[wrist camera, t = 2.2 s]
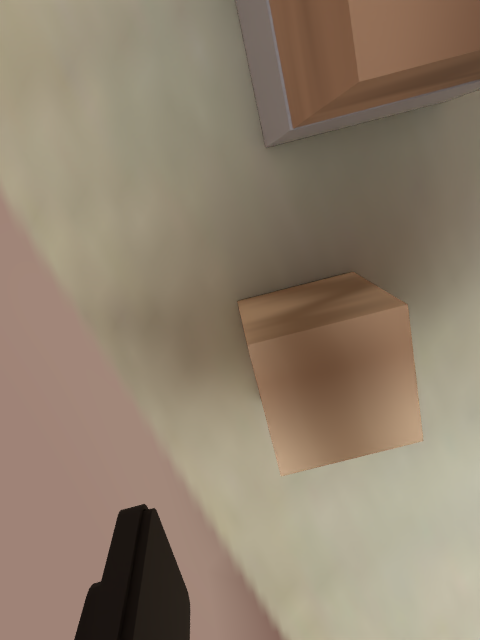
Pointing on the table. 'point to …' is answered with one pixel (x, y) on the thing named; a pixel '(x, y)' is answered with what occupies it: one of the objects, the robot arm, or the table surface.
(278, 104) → the base block
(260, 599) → the table surface
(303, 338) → the oak cube
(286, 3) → the top block
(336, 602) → the table surface
